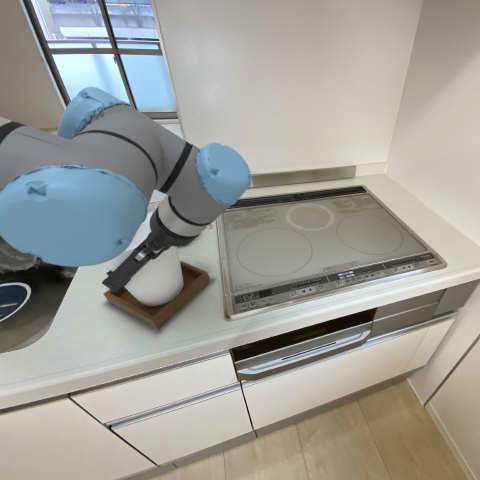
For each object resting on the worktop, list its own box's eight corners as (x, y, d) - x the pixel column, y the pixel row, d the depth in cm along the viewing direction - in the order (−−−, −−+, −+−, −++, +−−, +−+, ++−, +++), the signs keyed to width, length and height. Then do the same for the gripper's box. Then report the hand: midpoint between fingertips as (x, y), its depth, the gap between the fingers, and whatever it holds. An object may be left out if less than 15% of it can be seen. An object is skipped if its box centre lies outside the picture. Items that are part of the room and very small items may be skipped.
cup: (132, 324, 52) (89, 263, 41) (125, 283, 60) (87, 223, 49) (198, 296, 58) (176, 236, 47) (184, 262, 66) (161, 205, 55)
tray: (109, 302, 56) (102, 293, 54) (166, 261, 67) (162, 252, 65) (158, 329, 52) (152, 320, 50) (210, 281, 63) (207, 272, 61)
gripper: (144, 287, 34) (104, 323, 46) (237, 198, 53) (191, 240, 65) (91, 249, 32) (64, 298, 44) (208, 170, 51) (166, 219, 63)
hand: (140, 263), depth 55 cm, fingers closed on cup, 13 cm apart
